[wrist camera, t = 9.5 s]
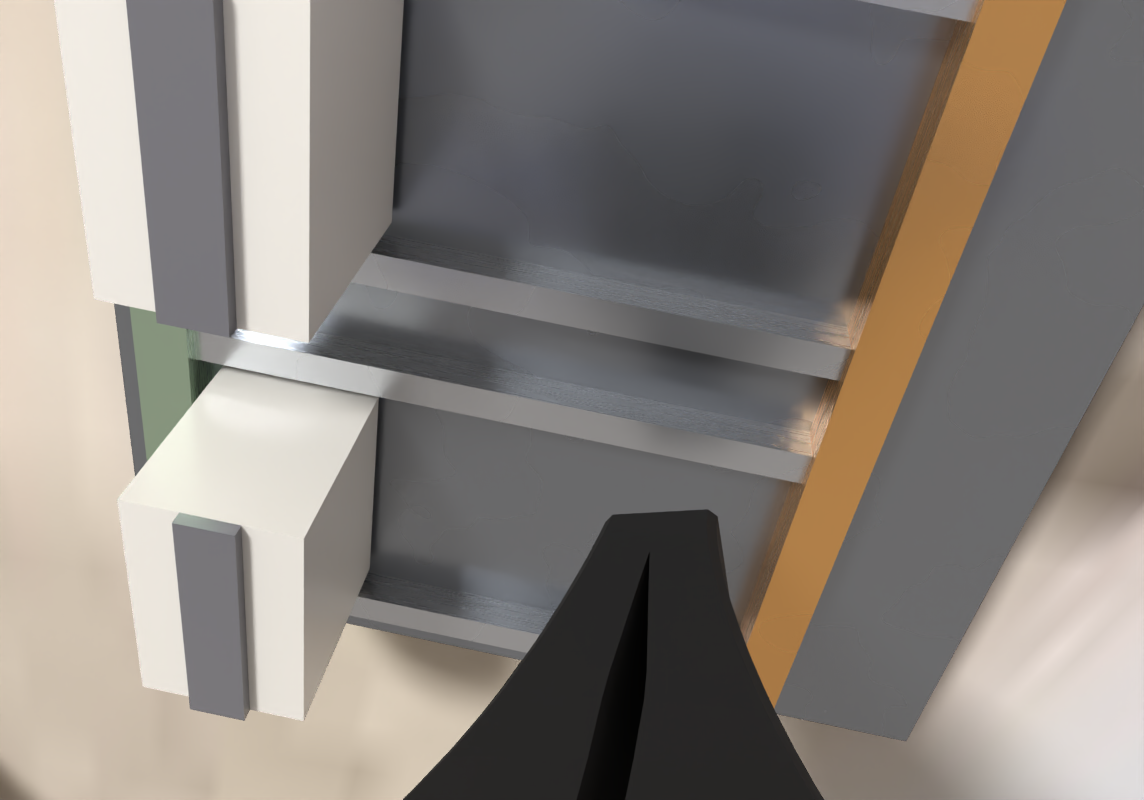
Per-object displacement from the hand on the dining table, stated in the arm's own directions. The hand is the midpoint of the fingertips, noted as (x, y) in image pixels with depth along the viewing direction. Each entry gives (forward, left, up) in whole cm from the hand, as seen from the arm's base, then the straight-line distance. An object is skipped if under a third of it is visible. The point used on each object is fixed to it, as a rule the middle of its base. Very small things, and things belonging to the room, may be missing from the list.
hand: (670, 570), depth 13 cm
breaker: (+6, -5, -2) cm, 8 cm away
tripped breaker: (+6, +2, -2) cm, 7 cm away
